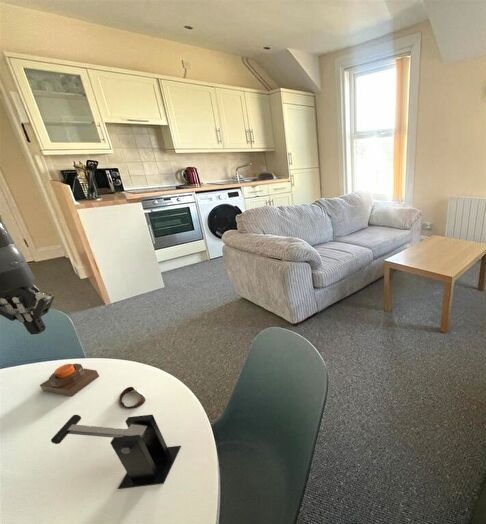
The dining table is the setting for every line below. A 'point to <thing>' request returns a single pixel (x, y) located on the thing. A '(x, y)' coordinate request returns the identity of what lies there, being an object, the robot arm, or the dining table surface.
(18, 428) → the dining table surface
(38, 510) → the dining table surface
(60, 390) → the button block
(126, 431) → the lever
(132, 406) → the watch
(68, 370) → the button
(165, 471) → the bracket
